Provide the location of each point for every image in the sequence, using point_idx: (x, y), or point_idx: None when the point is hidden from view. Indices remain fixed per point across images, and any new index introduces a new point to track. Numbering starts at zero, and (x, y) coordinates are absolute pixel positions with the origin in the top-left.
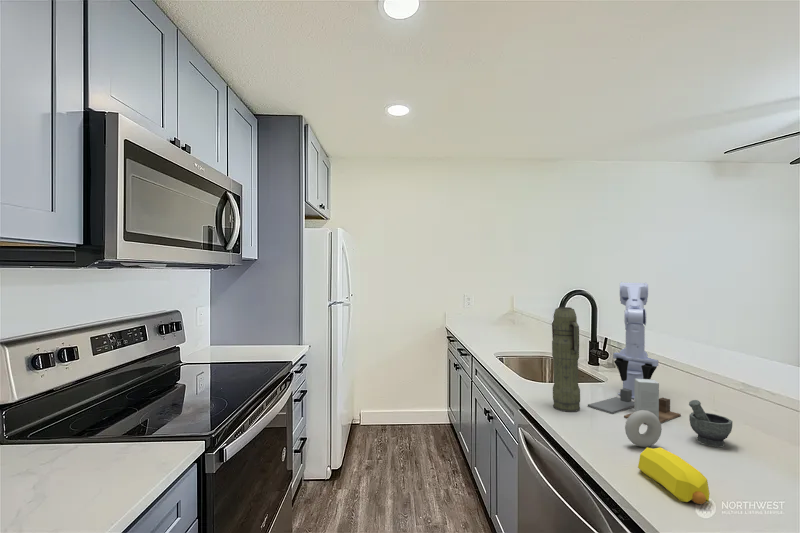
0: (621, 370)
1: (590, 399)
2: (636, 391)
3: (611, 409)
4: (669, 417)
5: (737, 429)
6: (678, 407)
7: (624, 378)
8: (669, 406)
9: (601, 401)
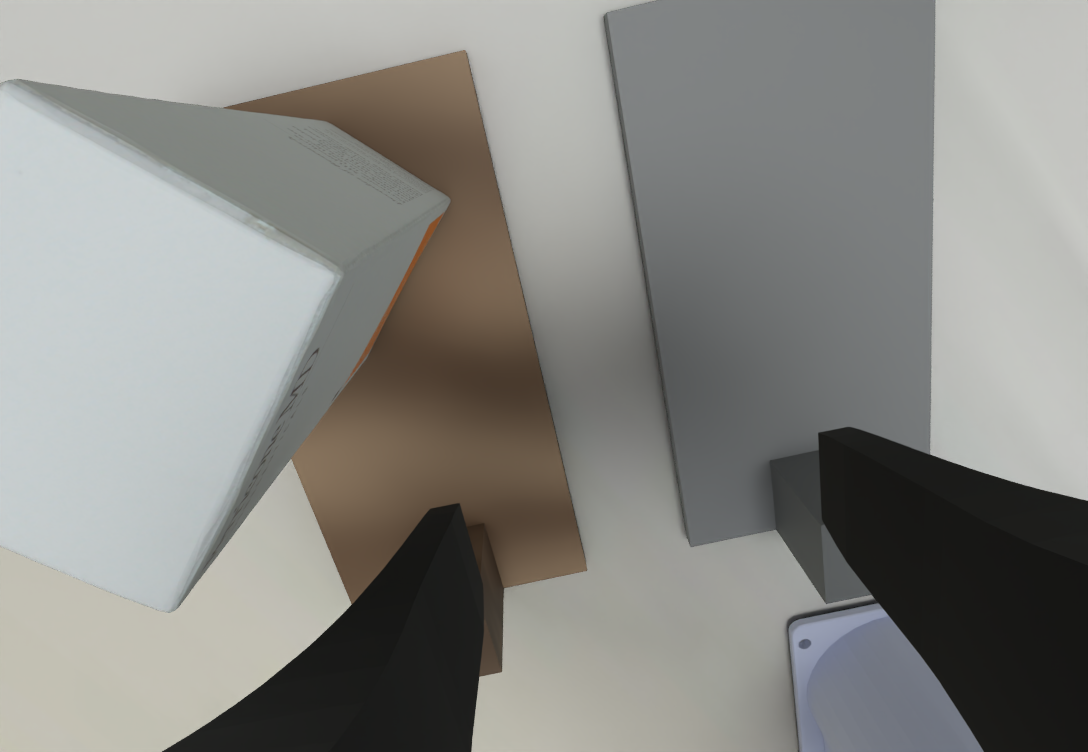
0: (962, 508)
1: (1056, 215)
2: (294, 168)
3: (674, 89)
4: (302, 462)
5: (36, 718)
6: (533, 746)
7: (838, 487)
8: None
9: (918, 223)
